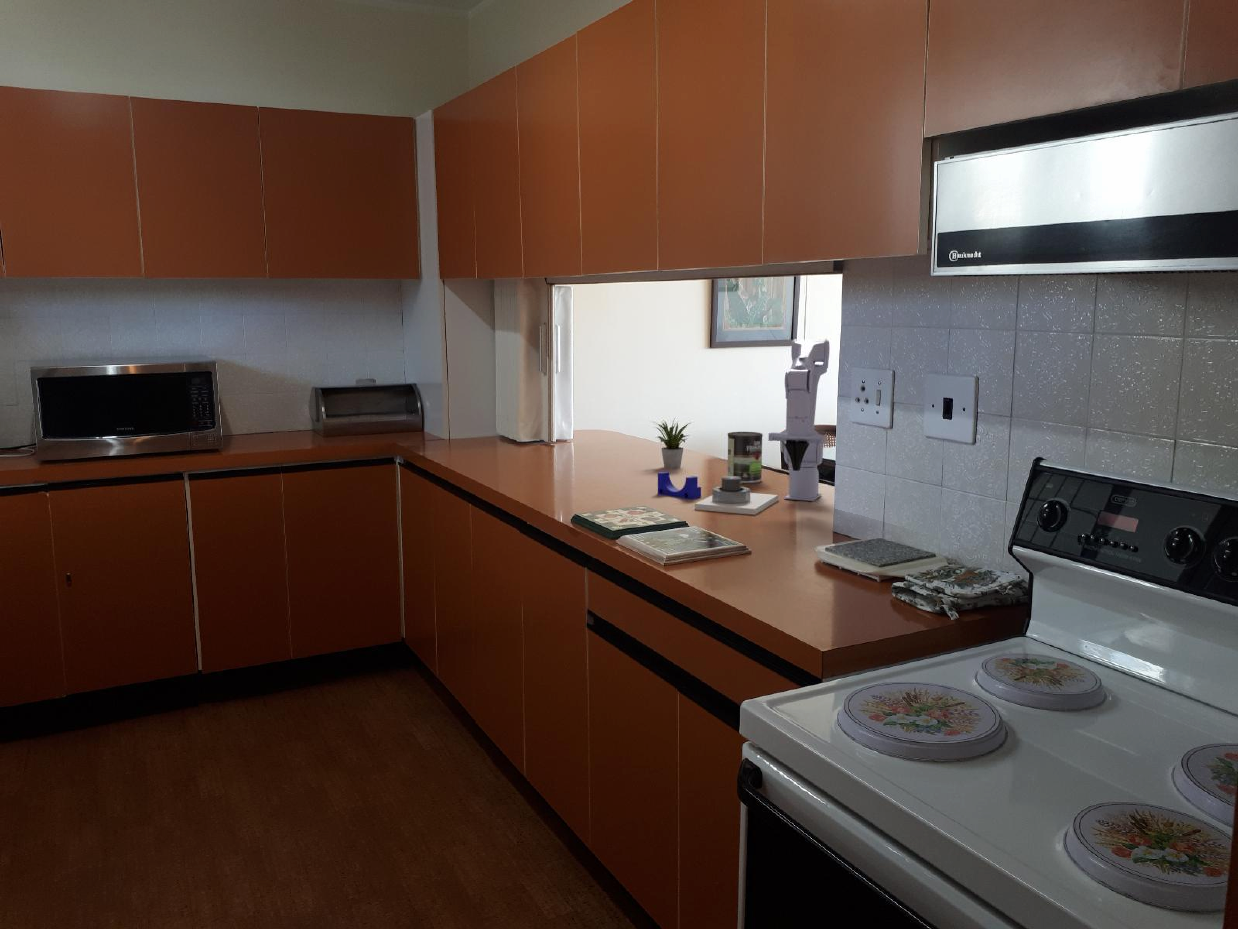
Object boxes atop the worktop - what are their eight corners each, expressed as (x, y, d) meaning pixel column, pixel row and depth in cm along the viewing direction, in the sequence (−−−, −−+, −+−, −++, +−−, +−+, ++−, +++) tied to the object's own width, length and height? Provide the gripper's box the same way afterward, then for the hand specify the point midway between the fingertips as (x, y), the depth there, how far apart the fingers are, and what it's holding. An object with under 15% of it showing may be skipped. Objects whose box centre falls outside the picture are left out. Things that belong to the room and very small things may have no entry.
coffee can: (769, 480, 295) (770, 433, 292) (745, 484, 288) (745, 436, 286) (743, 476, 302) (744, 430, 300) (719, 480, 296) (720, 433, 294)
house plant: (640, 469, 315) (640, 418, 313) (652, 463, 328) (652, 414, 326) (684, 471, 311) (684, 420, 308) (694, 465, 324) (695, 415, 321)
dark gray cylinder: (725, 498, 261) (725, 475, 260) (743, 499, 258) (743, 476, 258) (718, 501, 256) (718, 478, 255) (737, 502, 254) (737, 479, 253)
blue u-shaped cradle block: (701, 497, 270) (701, 476, 269) (689, 500, 267) (690, 478, 266) (668, 492, 278) (668, 471, 277) (657, 494, 275) (657, 472, 274)
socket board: (721, 496, 271) (721, 479, 271) (778, 500, 264) (778, 484, 264) (694, 509, 253) (694, 492, 253) (754, 514, 247) (755, 497, 246)
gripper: (765, 417, 250) (764, 470, 252) (822, 419, 244) (820, 474, 246) (773, 414, 256) (772, 466, 259) (829, 417, 250) (827, 470, 252)
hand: (796, 470), depth 253 cm, fingers closed
